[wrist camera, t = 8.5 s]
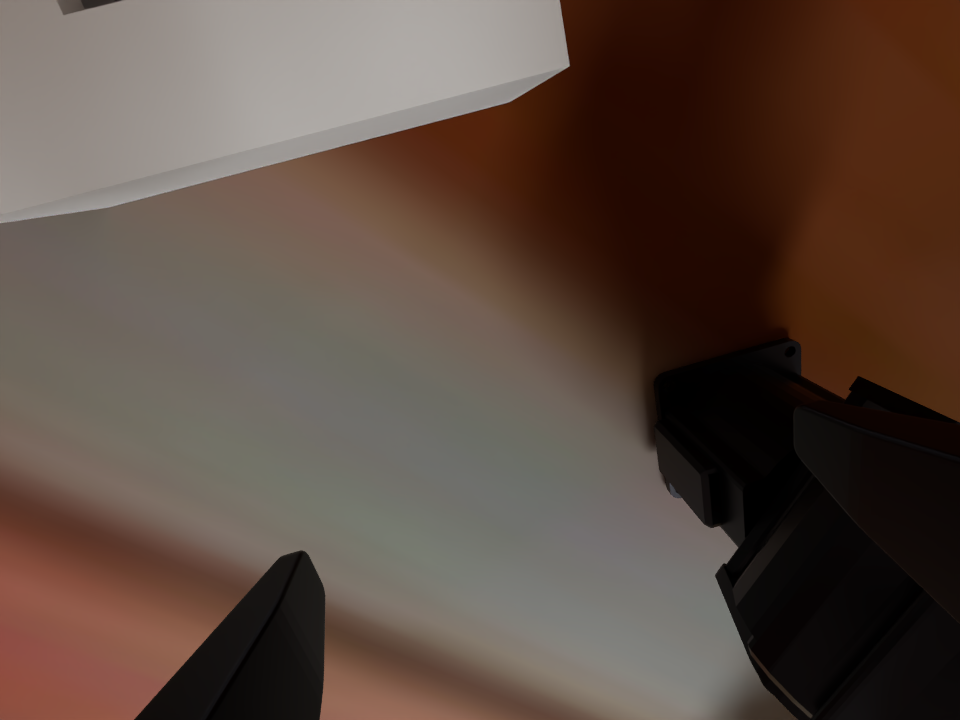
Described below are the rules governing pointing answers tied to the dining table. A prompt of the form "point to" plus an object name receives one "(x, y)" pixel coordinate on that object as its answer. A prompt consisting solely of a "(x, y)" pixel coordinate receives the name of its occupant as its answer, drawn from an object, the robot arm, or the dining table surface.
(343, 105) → the box
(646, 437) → the dining table surface
